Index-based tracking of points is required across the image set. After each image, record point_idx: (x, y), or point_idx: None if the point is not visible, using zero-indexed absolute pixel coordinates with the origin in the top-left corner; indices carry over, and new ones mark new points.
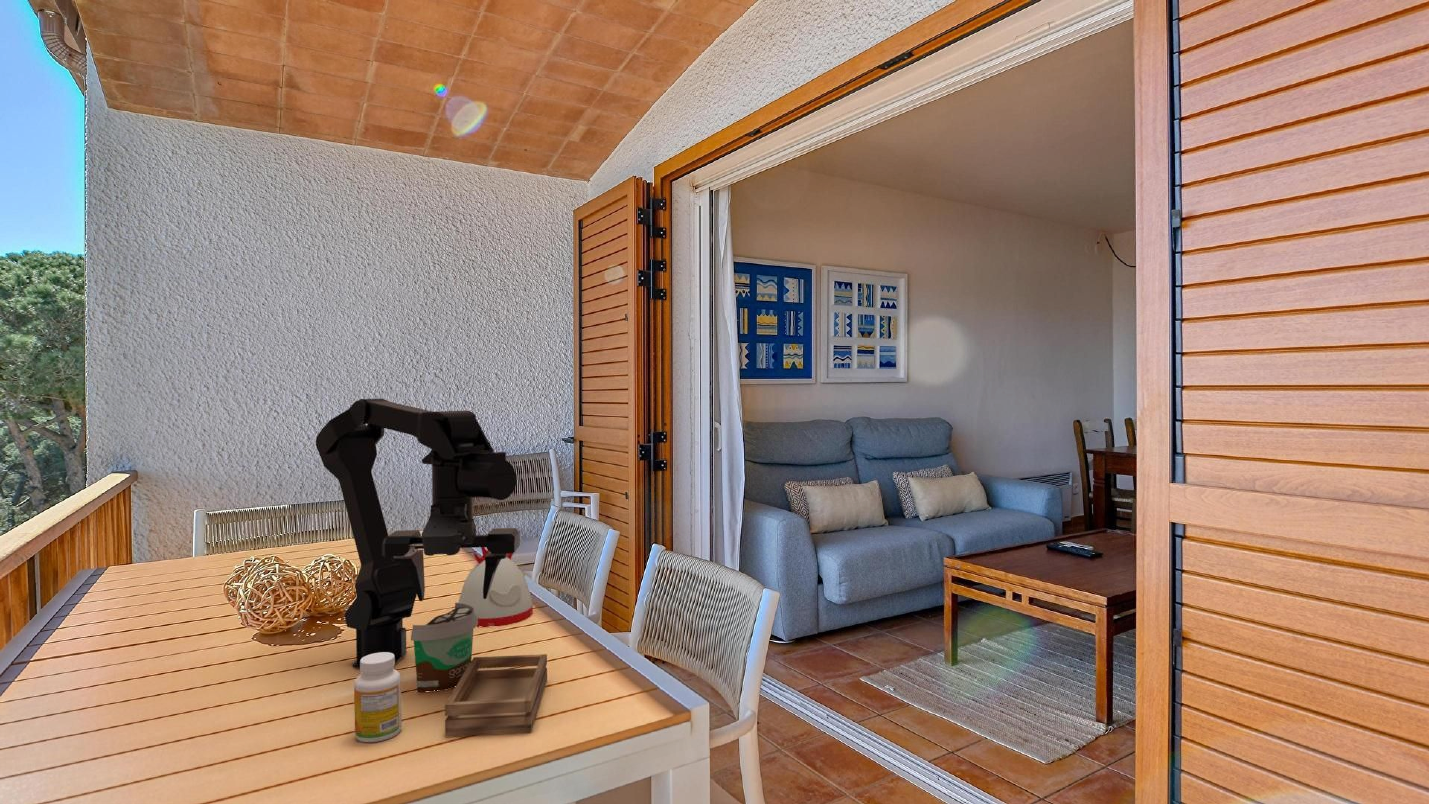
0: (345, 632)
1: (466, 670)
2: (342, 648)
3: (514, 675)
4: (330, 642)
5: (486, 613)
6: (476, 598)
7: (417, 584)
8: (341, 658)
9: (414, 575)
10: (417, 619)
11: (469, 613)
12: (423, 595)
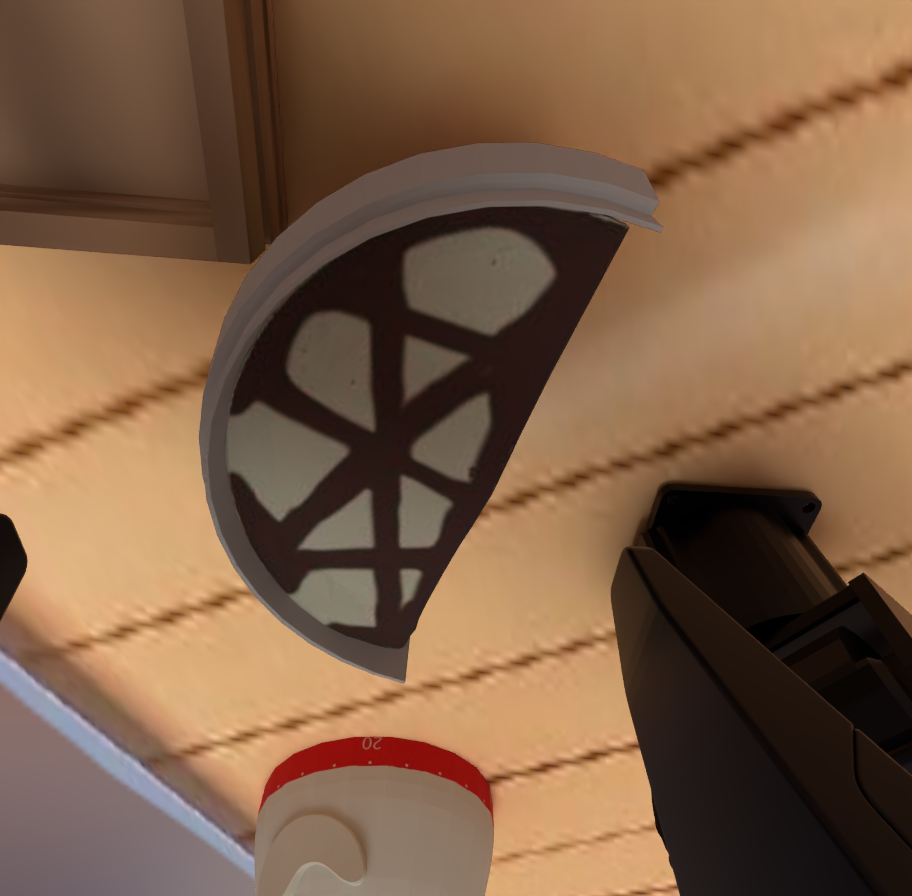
0: None
1: (218, 5)
2: None
3: (53, 191)
4: None
5: (382, 783)
6: (417, 848)
7: (743, 675)
8: None
9: (863, 804)
10: (609, 802)
11: (276, 545)
12: (623, 609)
